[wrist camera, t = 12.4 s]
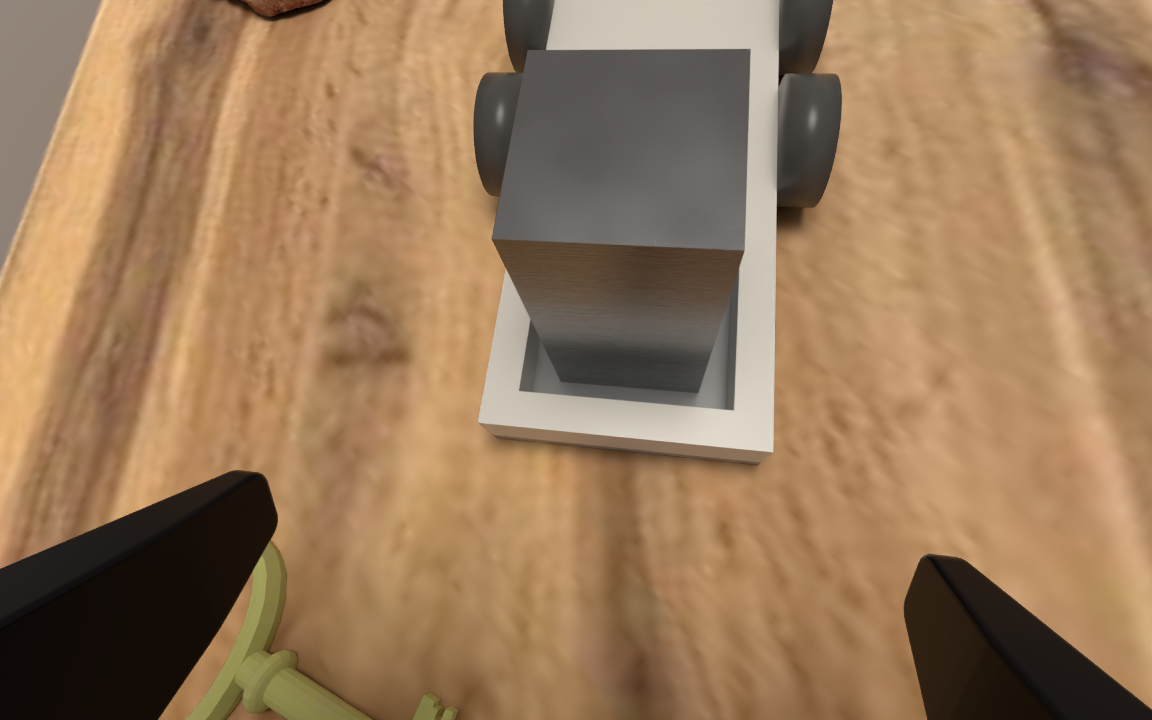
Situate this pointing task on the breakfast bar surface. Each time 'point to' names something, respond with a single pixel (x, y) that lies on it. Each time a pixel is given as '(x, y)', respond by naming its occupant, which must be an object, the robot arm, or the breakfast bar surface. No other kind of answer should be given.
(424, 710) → the key
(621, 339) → the block
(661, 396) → the chassis
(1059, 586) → the breakfast bar surface
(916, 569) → the robot arm
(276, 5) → the cookie
